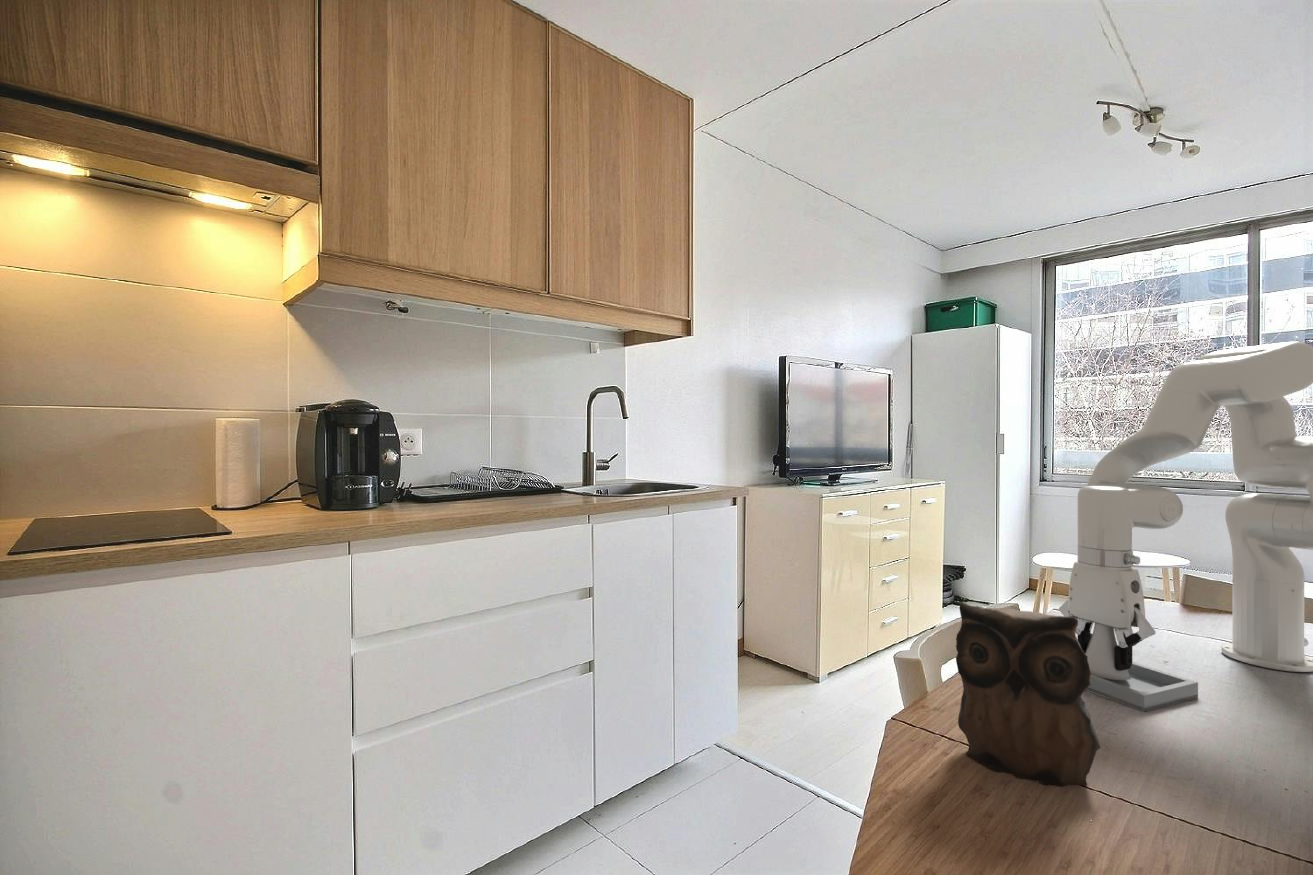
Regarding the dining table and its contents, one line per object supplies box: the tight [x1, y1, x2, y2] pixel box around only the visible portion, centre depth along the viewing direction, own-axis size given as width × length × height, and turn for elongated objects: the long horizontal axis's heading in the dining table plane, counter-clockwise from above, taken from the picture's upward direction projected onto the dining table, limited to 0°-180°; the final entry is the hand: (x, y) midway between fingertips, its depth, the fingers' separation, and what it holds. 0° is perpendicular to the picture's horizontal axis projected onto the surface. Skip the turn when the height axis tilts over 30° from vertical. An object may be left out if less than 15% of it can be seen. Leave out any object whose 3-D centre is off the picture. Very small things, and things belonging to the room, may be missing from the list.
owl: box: [955, 601, 1101, 787], centre depth 75 cm, size 13×13×20 cm
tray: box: [1085, 661, 1199, 713], centre depth 102 cm, size 14×20×2 cm
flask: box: [1085, 623, 1131, 680], centre depth 102 cm, size 7×7×10 cm
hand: (1104, 661), depth 102 cm, fingers closed on flask, 5 cm apart
